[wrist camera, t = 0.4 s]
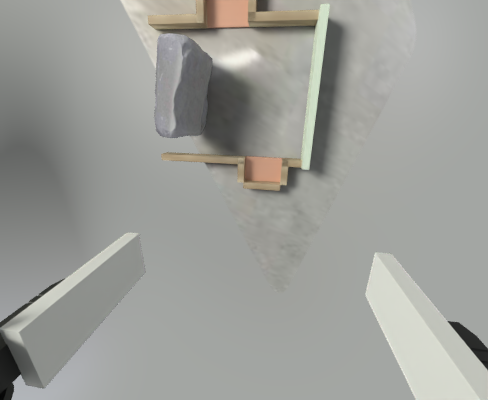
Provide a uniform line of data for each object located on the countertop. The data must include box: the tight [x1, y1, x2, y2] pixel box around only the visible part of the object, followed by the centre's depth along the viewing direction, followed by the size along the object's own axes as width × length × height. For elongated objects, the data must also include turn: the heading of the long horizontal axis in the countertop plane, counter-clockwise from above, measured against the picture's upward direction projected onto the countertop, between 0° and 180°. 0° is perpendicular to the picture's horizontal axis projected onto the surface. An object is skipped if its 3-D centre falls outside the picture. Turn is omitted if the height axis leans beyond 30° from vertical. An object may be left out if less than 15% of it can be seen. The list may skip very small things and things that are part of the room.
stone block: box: [154, 33, 213, 138], centre depth 31 cm, size 12×5×10 cm, turn 168°
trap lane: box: [148, 0, 330, 191], centre depth 33 cm, size 28×24×4 cm
